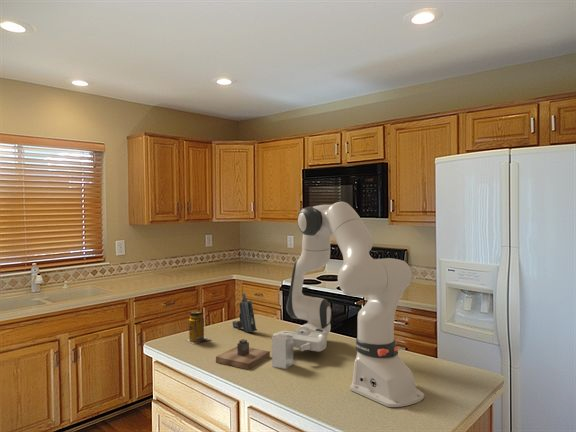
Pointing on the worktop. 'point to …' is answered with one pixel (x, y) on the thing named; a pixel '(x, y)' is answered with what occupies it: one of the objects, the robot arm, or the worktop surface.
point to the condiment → (196, 328)
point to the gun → (246, 316)
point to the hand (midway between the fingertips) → (288, 346)
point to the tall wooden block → (282, 351)
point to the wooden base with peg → (243, 356)
